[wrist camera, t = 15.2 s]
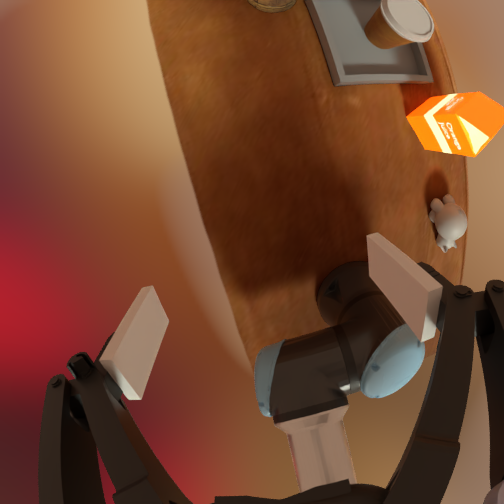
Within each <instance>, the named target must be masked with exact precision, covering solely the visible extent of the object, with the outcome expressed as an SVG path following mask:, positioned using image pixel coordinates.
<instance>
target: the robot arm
mask: <svg viewBox="0 0 504 504" xmlns="http://www.w3.org/2000/svg"><path fill="white" fill-rule="evenodd" d="M366 236H367V248H368V262H363V261H355V262H349V263H346V264H344V265H341V266H340V267H338V268H336V269H335V270H334V271H332V272H331V273H330V274H329V275H328V276H327V277H326V278H325V280H324V281H323V283H322V284H321V286H320V289H319V292H318V296H317V305H318V309H319V311H320V314H321V316H322V318H323V319H324V321H325V322H326V323H327V324H328V325H330V326H331V327H329V328H325V329H322V330H319V331H316V332H313V333H309V334H306V335H302V336H299V337H295V338H292V339H288V340H287V339H284V340H282V341H281V342H278V343H275V344H272V345H269V346H266V347H264V348H262V349H261V350H260V351H259V353H258V355H257V358H256V362H255V391H256V397H257V401H258V403H259V408H260V411H261V413H262V414H263V415H264V416H268V417H271V416H273V420H274V425H275V426H276V427H277V428H279V429H281V430H282V431H284V432H285V433H286V434H287V437H288V441H289V446H290V450H291V455H292V459H293V464H294V468H295V473H296V477H297V481H298V486H299V490H300V493H298V494H296V495H293V496H291V497H288V498H285V499H281V500H277V499H267V498H259V497H251V496H218V497H217V496H216V497H215V503H211V504H440V503H441V500H442V498H443V496H444V493H445V491H446V489H447V486H448V484H449V480H450V478H451V476H452V473H453V470H454V467H455V464H456V461H457V458H458V454H459V451H460V443H459V442H458V439H459V435H460V431H461V427H462V422H463V418H464V414H465V409H466V404H467V398H468V393H469V385H470V379H471V371H472V361H473V350H474V337H475V336H476V339H477V344H478V348H479V353H480V358H481V363H482V368H483V373H484V379H485V386H486V393H487V402H488V411H489V427H490V485H491V490H490V492H489V493H488V494H487V496H486V497H485V500H484V503H483V504H504V282H503V281H501V280H491V281H489V282H487V284H486V288H485V291H481V292H475V293H474V292H473V291H472V290H471V288H468V287H467V286H463V285H456V286H454V285H453V284H452V283H450V282H449V281H448V280H447V279H446V278H445V277H443V276H442V275H440V273H439V272H437V271H435V269H434V268H433V267H431V266H430V265H428V264H425V263H423V262H420V263H415V262H414V261H413V260H412V259H411V258H409V257H408V256H407V255H406V254H404V253H403V252H402V251H401V250H399V249H398V248H397V247H396V246H394V245H393V244H392V243H391V242H389V241H388V240H387V239H386V238H384V237H383V236H382V235H380V234H379V233H374V234H370V235H366ZM168 323H169V320H168V318H167V316H166V314H165V311H164V309H163V307H162V305H161V303H160V301H159V298H158V296H157V294H156V292H155V290H154V287H153V286H148V287H144V288H142V289H141V291H140V292H139V294H138V295H137V297H136V299H135V300H134V302H133V304H132V305H131V307H130V308H129V310H128V311H127V313H126V315H125V316H124V318H123V320H122V321H121V323H120V325H119V326H118V328H117V330H116V332H114V333H113V334H112V335H111V336H110V337H109V338H108V339H107V341H106V342H105V345H104V346H103V348H102V350H101V351H100V353H99V355H98V356H97V358H96V360H95V362H94V363H93V361H92V360H91V359H90V357H89V356H88V354H87V353H86V352H80V353H77V354H75V355H74V356H72V357H71V358H70V360H69V361H68V363H67V368H68V369H69V371H70V372H71V373H72V375H73V376H74V377H75V379H73V380H69V381H68V380H67V379H66V377H65V376H64V375H63V374H59V375H56V376H54V377H53V378H51V380H50V381H49V383H48V385H47V390H46V396H45V401H44V408H43V415H42V423H41V432H40V433H41V434H40V444H39V465H38V466H39V468H38V480H39V481H38V485H39V504H106V502H105V498H104V493H103V488H102V482H101V477H100V470H99V464H98V456H97V448H98V451H99V453H100V456H101V458H102V461H103V463H104V465H105V467H106V470H107V472H108V474H109V476H110V478H111V480H112V483H113V485H114V486H115V489H116V493H114V494H113V500H114V503H115V504H193V503H192V502H191V501H189V499H188V498H187V497H186V496H185V495H184V494H183V493H182V492H181V490H180V489H179V487H178V486H177V485H176V484H175V482H174V481H173V480H172V478H171V477H170V476H169V474H168V473H167V471H166V470H165V469H164V467H163V466H162V464H161V463H160V461H159V460H158V459H157V457H156V456H155V454H154V453H153V451H152V449H151V448H150V446H149V445H148V443H147V442H146V440H145V438H144V437H143V435H142V434H141V432H140V430H139V428H138V427H137V425H136V424H135V421H134V420H133V418H132V416H131V414H130V412H129V410H128V409H127V407H126V405H125V403H124V401H123V400H122V399H121V395H122V393H124V394H125V396H126V397H127V398H128V399H129V400H141V399H142V396H143V393H144V390H145V387H146V384H147V381H148V378H149V375H150V372H151V370H152V367H153V364H154V361H155V358H156V355H157V353H158V350H159V347H160V344H161V341H162V339H163V336H164V333H165V331H166V328H167V326H168ZM436 327H437V328H438V329H439V331H440V332H441V333H440V337H439V341H438V345H437V352H436V356H435V361H434V365H433V369H432V373H431V377H430V381H429V384H428V388H427V391H426V395H425V398H424V401H423V404H422V407H421V410H420V413H419V416H418V419H417V422H416V424H415V427H414V430H413V432H412V435H411V437H410V440H409V442H408V444H407V447H406V449H405V451H404V454H403V456H402V458H401V460H400V462H399V464H398V466H397V468H396V470H395V472H394V474H393V476H392V478H391V479H390V481H389V483H388V485H387V487H386V489H384V488H382V487H379V486H375V485H369V484H357V480H356V476H355V471H354V466H353V462H352V457H351V453H350V449H349V445H348V441H347V437H346V432H345V428H344V424H343V420H342V419H343V416H344V414H345V412H346V411H347V409H348V407H349V404H348V400H347V395H349V394H352V393H355V392H358V391H362V392H363V394H365V395H366V396H368V397H370V398H374V397H376V398H381V397H385V396H387V395H390V394H392V393H394V392H395V391H397V390H398V389H400V388H401V387H403V386H404V385H405V384H406V383H407V382H408V381H409V380H410V379H411V378H412V377H413V376H414V374H415V373H416V372H417V370H418V369H419V368H420V366H421V364H422V361H423V359H424V355H425V345H424V341H426V340H428V339H431V338H433V337H434V335H435V330H436ZM96 446H97V447H96Z"/></svg>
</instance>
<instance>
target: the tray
mask: <svg viewBox="0 0 504 504" xmlns="http://www.w3.org/2000/svg"><path fill="white" fill-rule="evenodd" d="M305 3H306V5H307V8H308V10H309V13H310V15H311V18H312V20H313V23H314V26H315V28H316V31H317V34H318V37H319V39H320V42H321V45H322V48H323V51H324V54H325V58H326V61H327V64H328V67H329V71H330V74H331V77H332V81H333V84H334V86H345V85H360V84H389V83H400V84H427V83H431V82H434V81H433V77H432V74H431V70H430V67H429V63H428V60H427V57H426V54H425V51H424V48H423V45H422V42H413V43H409V44H405V45H401V46H397V47H393V48H390V49H380V48H378V47H376V46H374V45H373V44H372V43H371V42H370V41H369V40H368V39H367V37H366V35H365V31H364V29H365V25H366V24H367V23H368V21H369V20H370V18H371V17H372V16H373V14H374V13H375V11H376V10H377V9H378V7H379V6H380V4H381V0H305Z"/></svg>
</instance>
